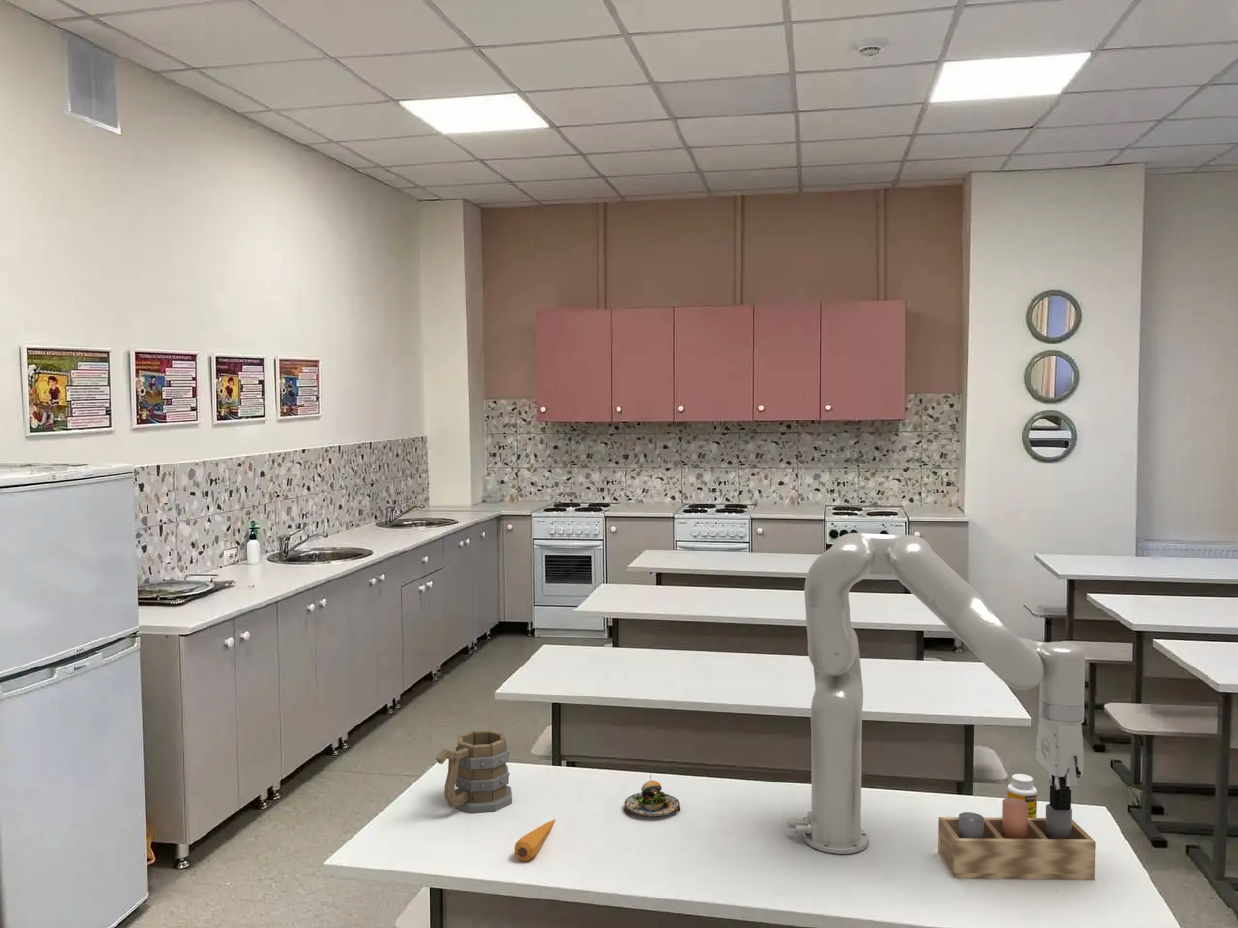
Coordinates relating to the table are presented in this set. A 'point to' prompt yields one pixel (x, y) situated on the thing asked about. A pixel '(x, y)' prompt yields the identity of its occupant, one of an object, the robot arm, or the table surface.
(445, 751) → the tankard
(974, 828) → the plunger left
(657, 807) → the burger
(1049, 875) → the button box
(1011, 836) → the pink cylinder
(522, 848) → the carrot
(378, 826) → the table surface
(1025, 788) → the supplement bottle
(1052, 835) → the plunger right
